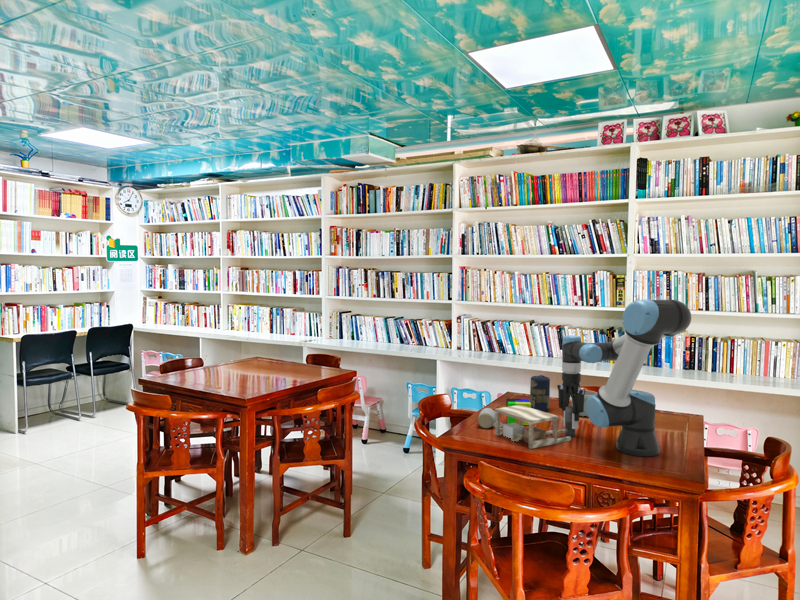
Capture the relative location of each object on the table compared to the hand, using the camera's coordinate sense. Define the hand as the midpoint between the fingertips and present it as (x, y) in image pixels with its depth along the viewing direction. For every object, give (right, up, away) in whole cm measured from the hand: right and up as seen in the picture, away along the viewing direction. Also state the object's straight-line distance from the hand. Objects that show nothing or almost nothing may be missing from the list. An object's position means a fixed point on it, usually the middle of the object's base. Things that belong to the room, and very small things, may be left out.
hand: (570, 426), depth 225 cm
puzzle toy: (-18, -3, +20) cm, 27 cm away
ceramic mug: (-32, -3, +13) cm, 35 cm away
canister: (-2, -2, +43) cm, 43 cm away
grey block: (-25, -4, -2) cm, 25 cm away
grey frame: (-9, -4, -5) cm, 11 cm away
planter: (+18, -3, +34) cm, 39 cm away
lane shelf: (-17, -4, -4) cm, 18 cm away
